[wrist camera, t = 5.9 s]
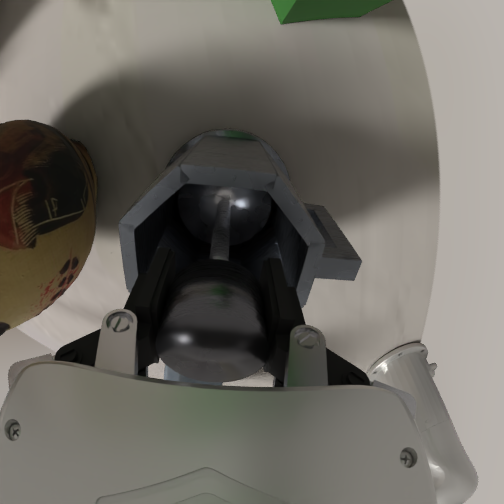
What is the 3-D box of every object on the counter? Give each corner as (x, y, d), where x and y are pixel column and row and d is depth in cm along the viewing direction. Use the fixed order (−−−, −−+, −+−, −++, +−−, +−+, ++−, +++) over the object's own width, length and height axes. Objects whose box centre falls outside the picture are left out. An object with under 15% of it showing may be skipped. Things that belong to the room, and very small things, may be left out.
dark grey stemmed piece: (277, 163, 20) (345, 280, 8) (262, 245, 23) (287, 401, 11) (182, 153, 19) (93, 257, 7) (178, 236, 23) (132, 388, 10)
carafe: (325, 144, 22) (397, 188, 11) (299, 251, 27) (332, 344, 17) (168, 124, 20) (105, 151, 10) (165, 238, 26) (127, 330, 15)
